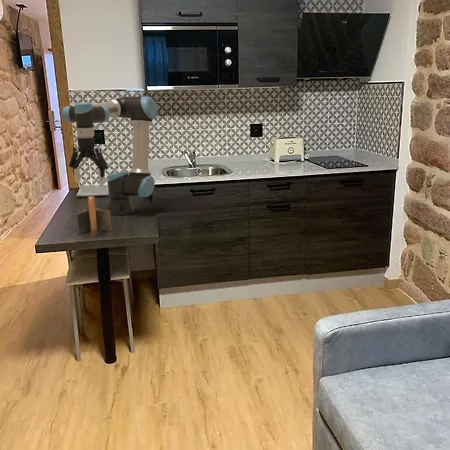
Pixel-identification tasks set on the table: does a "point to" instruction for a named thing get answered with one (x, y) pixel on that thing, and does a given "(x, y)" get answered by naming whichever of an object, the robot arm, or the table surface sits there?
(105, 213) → the hinge
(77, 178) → the robot arm
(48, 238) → the table surface
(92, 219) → the hinge pin
